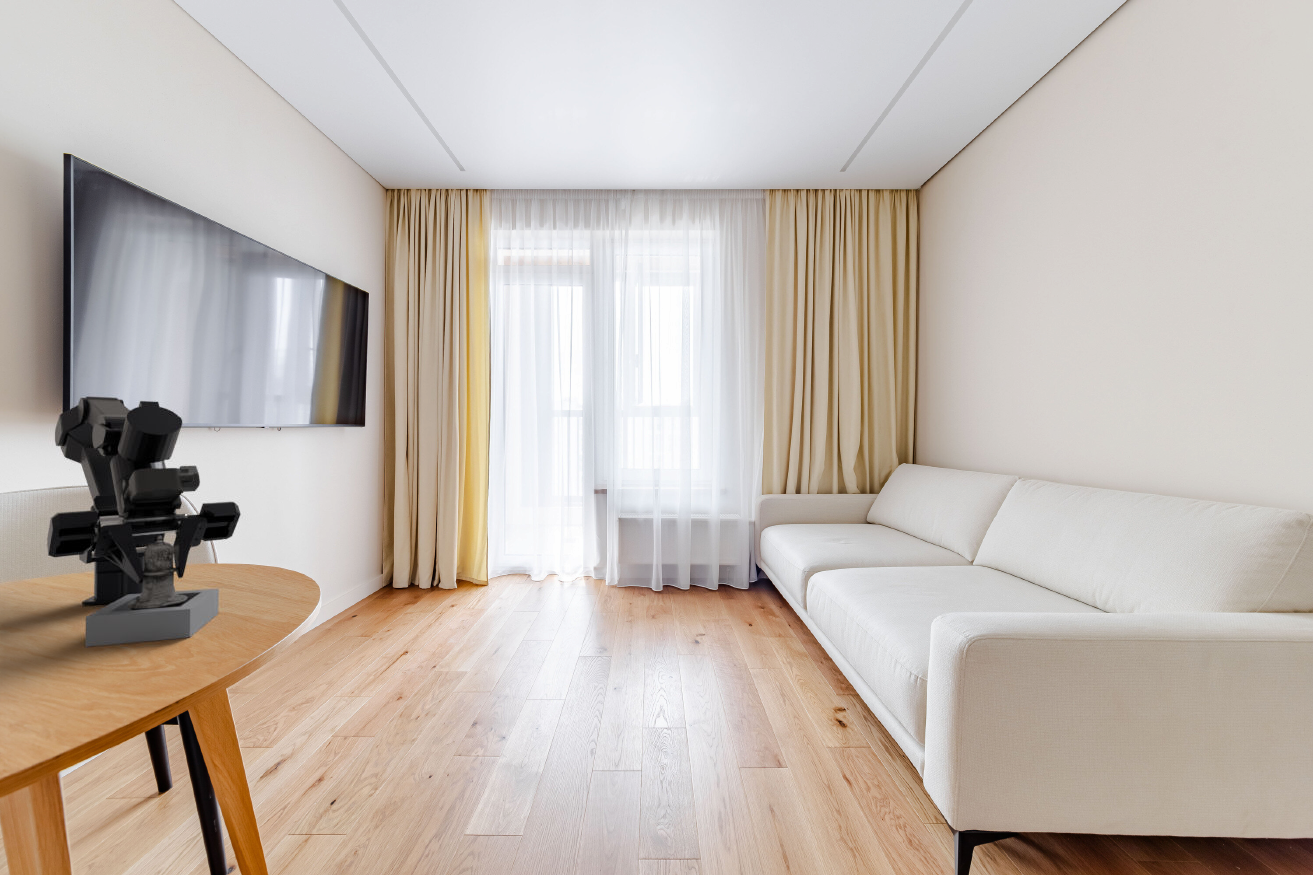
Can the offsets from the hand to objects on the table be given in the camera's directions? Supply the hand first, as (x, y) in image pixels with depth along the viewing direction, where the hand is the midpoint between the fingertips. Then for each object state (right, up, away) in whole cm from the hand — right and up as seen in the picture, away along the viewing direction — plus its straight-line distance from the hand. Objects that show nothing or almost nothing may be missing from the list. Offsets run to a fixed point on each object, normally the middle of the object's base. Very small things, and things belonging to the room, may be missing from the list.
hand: (161, 578), depth 73 cm
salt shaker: (-1, -7, +1) cm, 7 cm away
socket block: (-1, -7, +1) cm, 7 cm away
